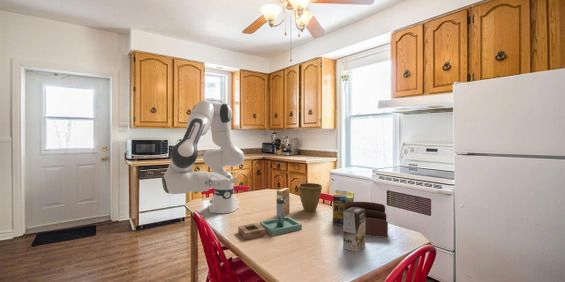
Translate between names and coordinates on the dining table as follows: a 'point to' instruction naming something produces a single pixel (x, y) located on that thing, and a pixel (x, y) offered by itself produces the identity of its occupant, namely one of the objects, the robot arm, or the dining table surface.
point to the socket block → (251, 231)
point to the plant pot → (310, 195)
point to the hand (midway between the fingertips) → (233, 178)
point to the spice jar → (280, 212)
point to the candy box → (284, 194)
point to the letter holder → (372, 218)
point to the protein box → (340, 205)
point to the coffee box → (354, 228)
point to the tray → (272, 227)
